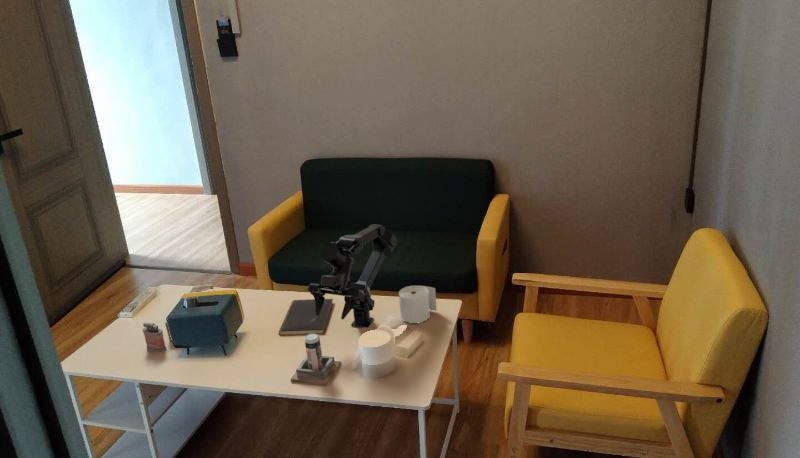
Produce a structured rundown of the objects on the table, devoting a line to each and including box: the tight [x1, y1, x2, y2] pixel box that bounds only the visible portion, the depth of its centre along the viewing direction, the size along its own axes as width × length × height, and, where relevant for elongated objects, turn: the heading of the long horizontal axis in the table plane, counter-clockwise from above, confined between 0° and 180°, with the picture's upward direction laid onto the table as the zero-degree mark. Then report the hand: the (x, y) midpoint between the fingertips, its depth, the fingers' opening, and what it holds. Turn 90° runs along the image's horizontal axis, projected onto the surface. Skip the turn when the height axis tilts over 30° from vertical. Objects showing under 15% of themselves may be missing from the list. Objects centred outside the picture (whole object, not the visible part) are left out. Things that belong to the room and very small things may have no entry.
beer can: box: [304, 333, 324, 371], centre depth 193 cm, size 5×5×12 cm
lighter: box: [142, 322, 167, 353], centre depth 214 cm, size 8×3×10 cm, turn 65°
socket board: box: [290, 355, 342, 387], centre depth 194 cm, size 12×12×4 cm
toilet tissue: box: [398, 285, 437, 324], centre depth 223 cm, size 11×12×10 cm
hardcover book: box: [278, 298, 334, 336], centre depth 229 cm, size 16×23×2 cm
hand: (329, 317), depth 201 cm, fingers open, 9 cm apart
